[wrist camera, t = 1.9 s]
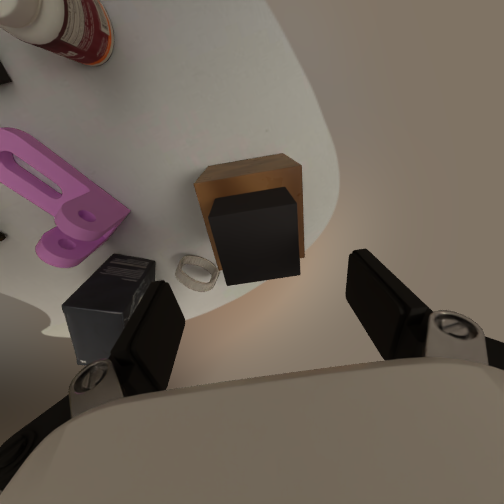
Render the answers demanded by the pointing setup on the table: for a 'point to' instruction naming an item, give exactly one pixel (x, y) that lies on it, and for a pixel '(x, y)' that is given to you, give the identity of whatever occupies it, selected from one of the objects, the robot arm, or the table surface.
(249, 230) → the pad
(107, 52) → the pill bottle
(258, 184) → the wooden block
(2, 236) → the book
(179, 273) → the wristwatch
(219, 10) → the table surface
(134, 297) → the box
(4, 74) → the base pad
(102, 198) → the bracket
